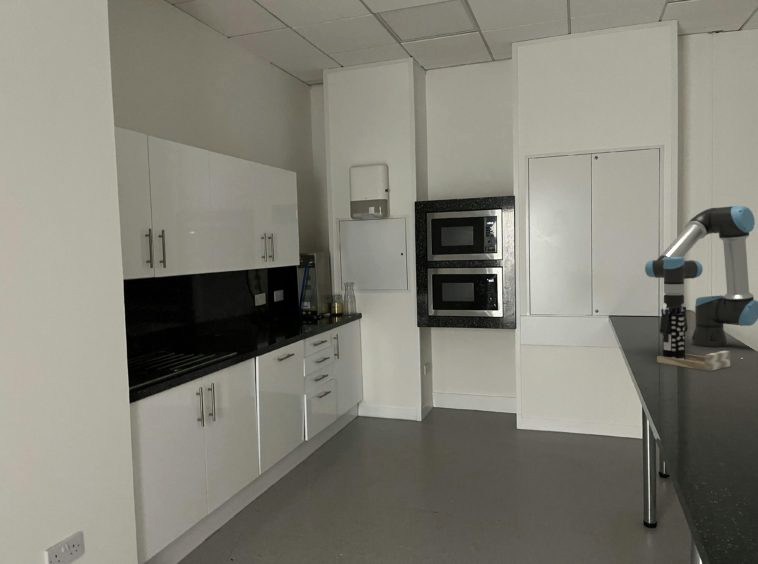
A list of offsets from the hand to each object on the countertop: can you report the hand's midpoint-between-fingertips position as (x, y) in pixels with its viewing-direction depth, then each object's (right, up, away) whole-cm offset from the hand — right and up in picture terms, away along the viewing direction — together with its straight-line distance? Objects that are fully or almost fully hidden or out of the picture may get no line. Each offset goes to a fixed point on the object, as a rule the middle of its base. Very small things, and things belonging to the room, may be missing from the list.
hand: (673, 348), depth 246 cm
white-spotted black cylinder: (0, -6, 0) cm, 6 cm away
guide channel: (+4, -6, -6) cm, 9 cm away
